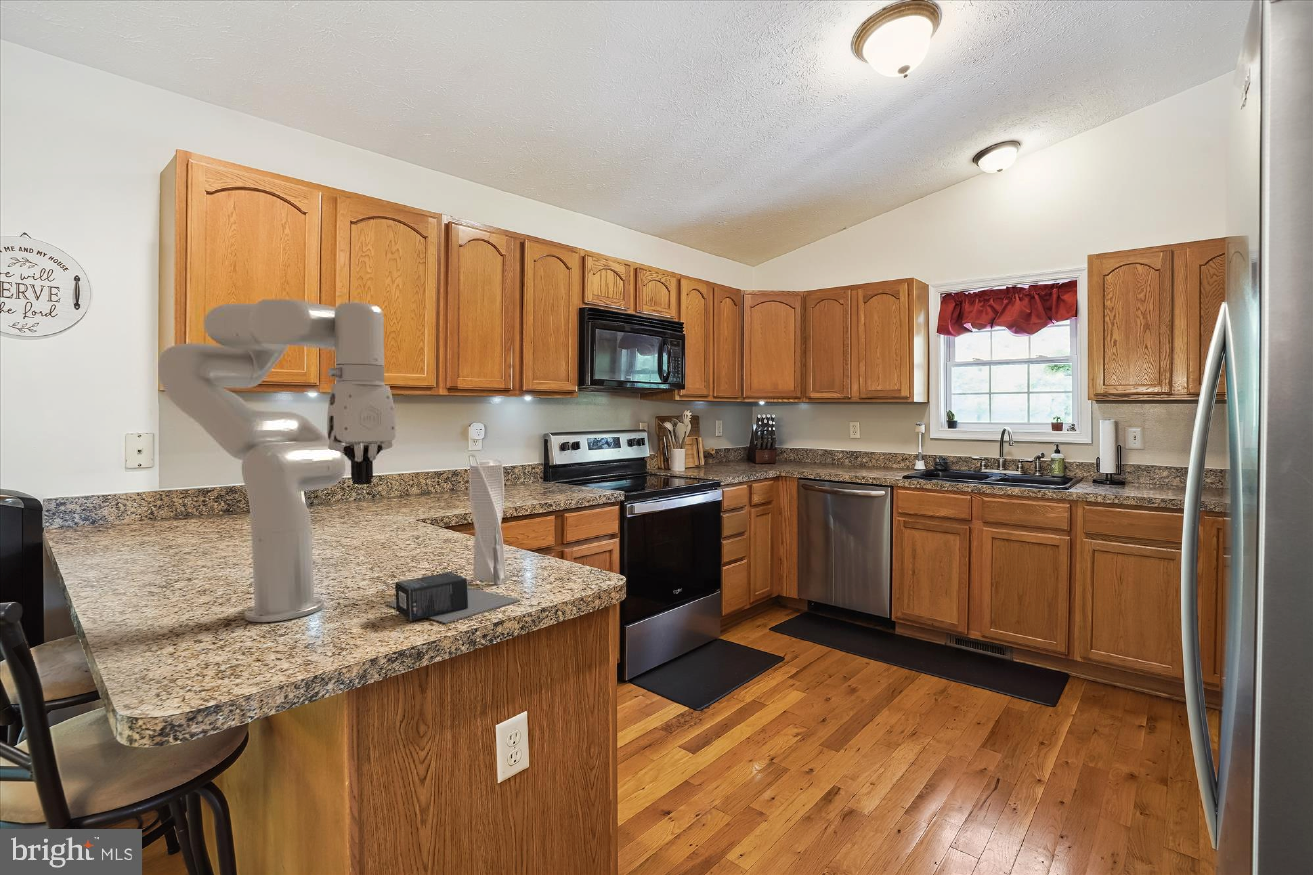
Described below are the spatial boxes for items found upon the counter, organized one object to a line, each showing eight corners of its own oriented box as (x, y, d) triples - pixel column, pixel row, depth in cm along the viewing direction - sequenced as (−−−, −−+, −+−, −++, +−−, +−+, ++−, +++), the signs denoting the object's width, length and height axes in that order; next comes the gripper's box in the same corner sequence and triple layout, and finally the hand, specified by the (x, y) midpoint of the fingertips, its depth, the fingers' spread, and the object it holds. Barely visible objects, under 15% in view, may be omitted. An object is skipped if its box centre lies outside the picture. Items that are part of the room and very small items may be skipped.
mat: (385, 605, 117) (385, 603, 117) (459, 586, 129) (459, 585, 129) (445, 624, 104) (445, 622, 104) (520, 601, 117) (520, 599, 117)
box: (409, 622, 105) (469, 608, 112) (408, 589, 105) (467, 577, 112) (396, 612, 111) (453, 599, 118) (394, 581, 111) (451, 570, 118)
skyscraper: (462, 585, 131) (458, 455, 130) (479, 576, 139) (475, 453, 138) (500, 586, 129) (495, 454, 129) (515, 576, 137) (510, 452, 137)
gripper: (327, 373, 96) (329, 489, 97) (412, 378, 108) (414, 481, 109) (304, 375, 101) (306, 486, 101) (388, 379, 113) (390, 479, 113)
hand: (362, 483), depth 105 cm, fingers closed
